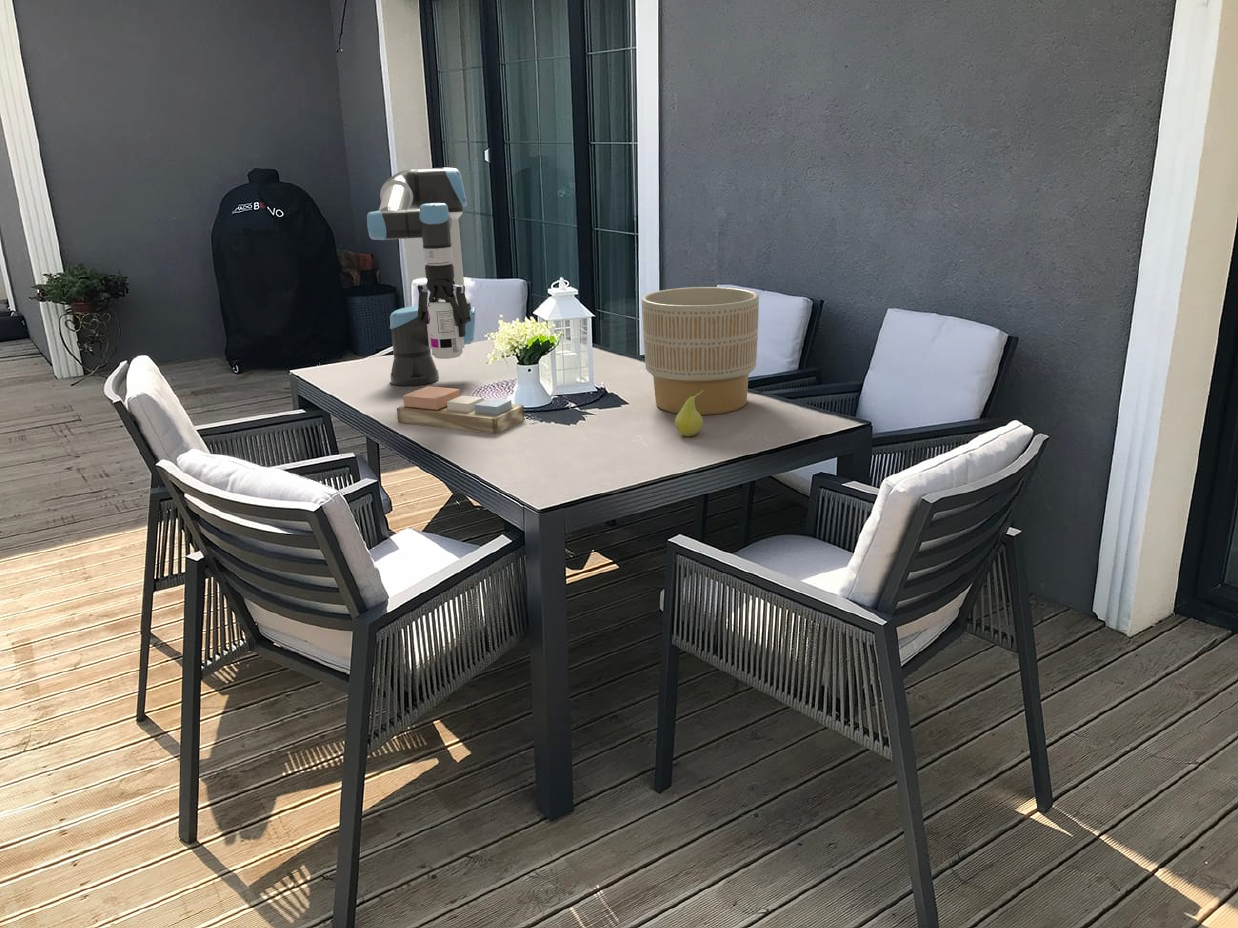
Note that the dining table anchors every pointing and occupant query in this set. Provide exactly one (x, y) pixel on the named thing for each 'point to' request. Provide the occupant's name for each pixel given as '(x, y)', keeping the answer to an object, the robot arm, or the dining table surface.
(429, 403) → the key terracotta
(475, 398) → the key ivory
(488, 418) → the wooden compartment tray
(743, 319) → the planter
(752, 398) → the dining table surface
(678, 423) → the fruit
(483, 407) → the key slate
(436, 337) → the supplement can
